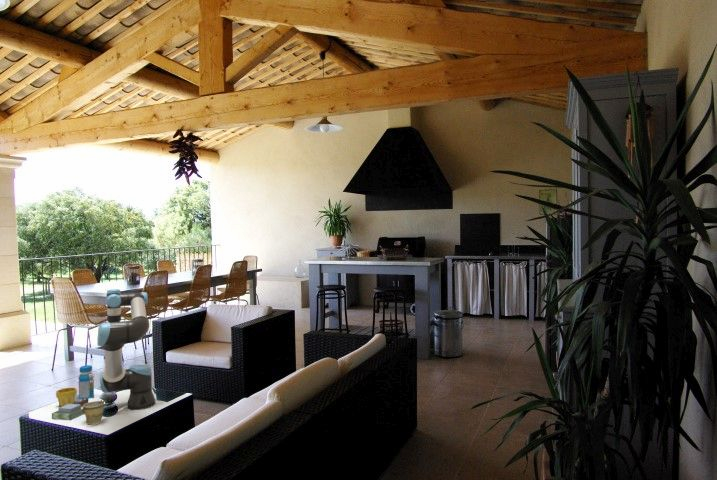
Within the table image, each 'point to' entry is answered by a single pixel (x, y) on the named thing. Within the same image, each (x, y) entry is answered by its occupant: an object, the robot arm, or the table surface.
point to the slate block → (69, 408)
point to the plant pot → (66, 396)
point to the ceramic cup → (94, 411)
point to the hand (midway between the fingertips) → (115, 353)
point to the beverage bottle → (86, 382)
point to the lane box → (73, 415)
